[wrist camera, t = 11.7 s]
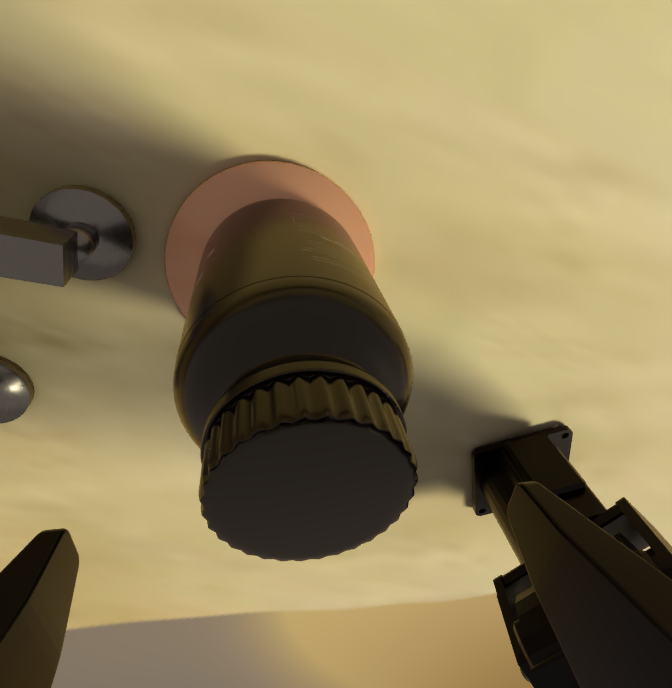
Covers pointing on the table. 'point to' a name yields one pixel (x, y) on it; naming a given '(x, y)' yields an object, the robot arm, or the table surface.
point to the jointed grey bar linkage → (60, 259)
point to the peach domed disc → (243, 189)
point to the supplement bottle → (294, 387)
